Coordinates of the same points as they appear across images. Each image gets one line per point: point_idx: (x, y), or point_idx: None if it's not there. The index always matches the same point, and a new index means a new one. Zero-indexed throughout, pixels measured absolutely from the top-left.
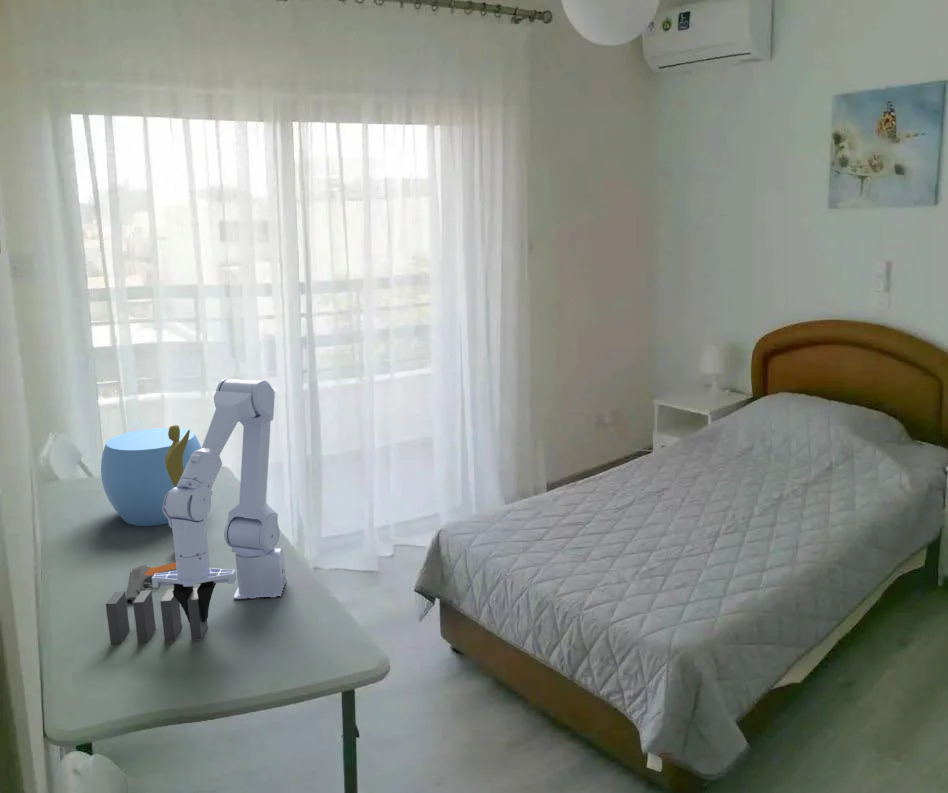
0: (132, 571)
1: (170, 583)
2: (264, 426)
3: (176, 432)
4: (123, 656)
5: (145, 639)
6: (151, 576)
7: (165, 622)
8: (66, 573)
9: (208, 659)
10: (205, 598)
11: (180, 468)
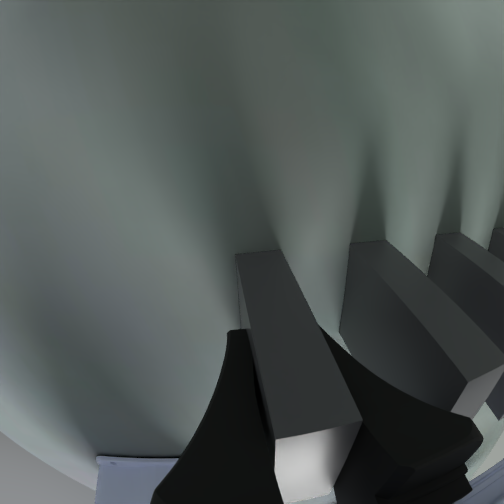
0: None
1: (482, 484)
2: None
3: None
4: (485, 146)
5: (449, 239)
6: None
7: (424, 286)
8: (498, 422)
9: (137, 72)
10: (207, 453)
11: None
